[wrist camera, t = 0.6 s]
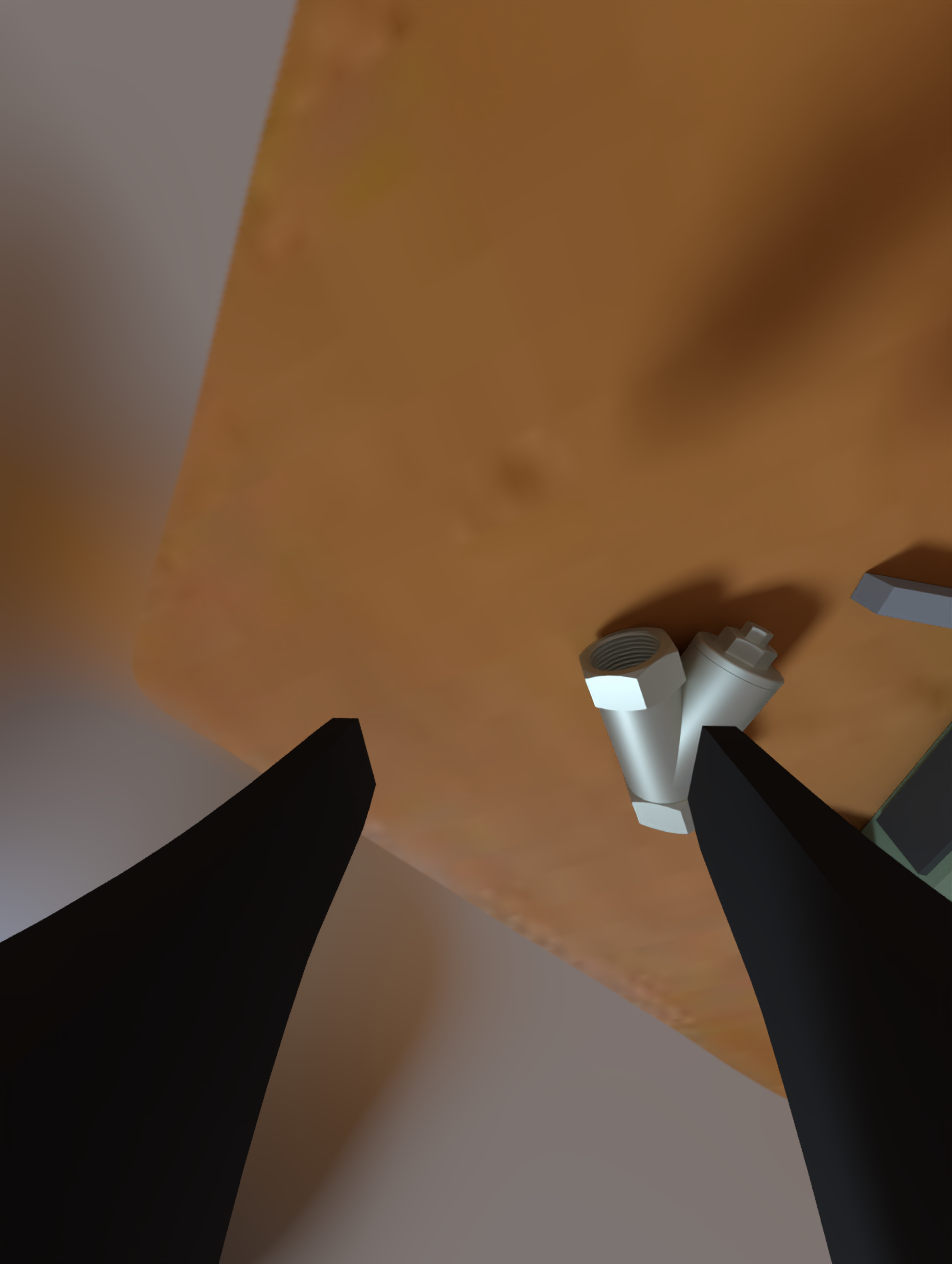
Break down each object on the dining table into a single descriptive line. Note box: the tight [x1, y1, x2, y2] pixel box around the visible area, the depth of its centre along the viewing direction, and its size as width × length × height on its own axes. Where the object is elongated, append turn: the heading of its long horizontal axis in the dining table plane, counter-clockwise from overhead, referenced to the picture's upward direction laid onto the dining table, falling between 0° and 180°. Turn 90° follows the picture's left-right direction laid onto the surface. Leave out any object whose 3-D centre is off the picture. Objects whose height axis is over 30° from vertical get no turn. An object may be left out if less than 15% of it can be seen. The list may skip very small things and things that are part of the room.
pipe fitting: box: [579, 622, 784, 834], centre depth 17 cm, size 8×4×7 cm
